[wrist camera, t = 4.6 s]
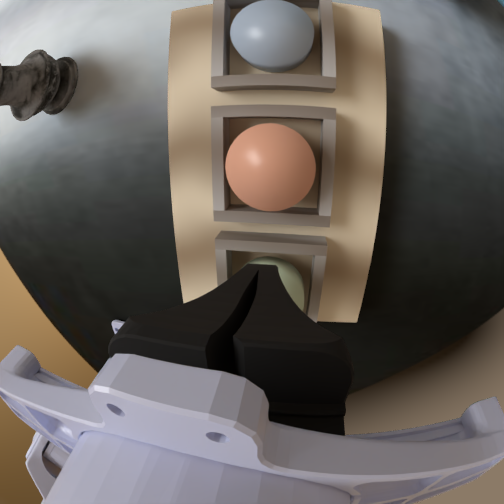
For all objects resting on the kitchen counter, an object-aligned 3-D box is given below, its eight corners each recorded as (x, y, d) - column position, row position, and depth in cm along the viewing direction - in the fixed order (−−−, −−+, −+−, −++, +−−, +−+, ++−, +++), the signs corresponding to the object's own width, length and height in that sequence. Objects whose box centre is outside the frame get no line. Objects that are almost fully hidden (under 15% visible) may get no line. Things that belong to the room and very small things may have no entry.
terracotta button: (311, 205, 14) (313, 213, 12) (233, 201, 14) (226, 209, 13) (314, 126, 12) (317, 125, 11) (232, 124, 13) (224, 123, 11)
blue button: (313, 73, 12) (315, 66, 10) (236, 73, 12) (229, 66, 11) (311, 12, 10) (312, 0, 9) (237, 13, 11) (231, 1, 9)
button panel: (352, 305, 19) (359, 335, 16) (193, 293, 21) (177, 320, 18) (371, 21, 11) (386, 1, 8) (183, 21, 13) (161, 3, 9)
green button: (300, 317, 16) (300, 334, 15) (236, 312, 17) (231, 327, 16) (306, 258, 15) (307, 272, 13) (234, 254, 15) (228, 267, 14)
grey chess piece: (83, 44, 13) (-38, 30, 3) (78, 109, 16) (-54, 127, 5) (41, 66, 14) (-64, 70, 3) (37, 123, 17) (-72, 149, 6)
